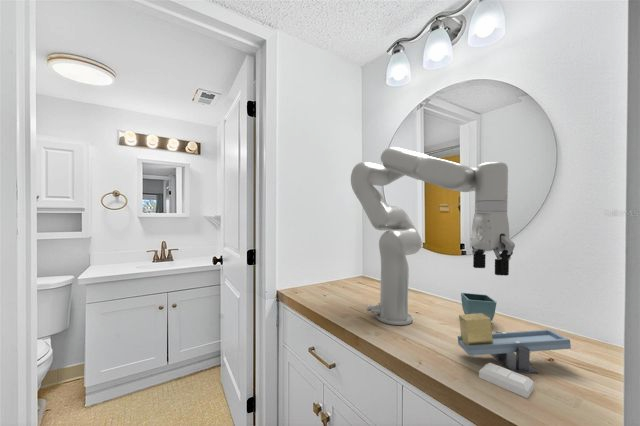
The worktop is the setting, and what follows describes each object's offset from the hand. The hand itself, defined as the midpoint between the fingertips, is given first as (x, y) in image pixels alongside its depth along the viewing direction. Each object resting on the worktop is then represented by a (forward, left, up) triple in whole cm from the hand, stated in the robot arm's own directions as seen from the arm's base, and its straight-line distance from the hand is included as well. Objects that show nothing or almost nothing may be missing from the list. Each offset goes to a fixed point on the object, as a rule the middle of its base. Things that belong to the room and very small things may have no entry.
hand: (489, 271), depth 74 cm
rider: (-5, -4, -18) cm, 19 cm away
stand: (+3, -4, -22) cm, 23 cm away
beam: (+3, -4, -18) cm, 18 cm away
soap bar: (-4, -14, -23) cm, 27 cm away
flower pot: (+8, +22, -22) cm, 32 cm away
